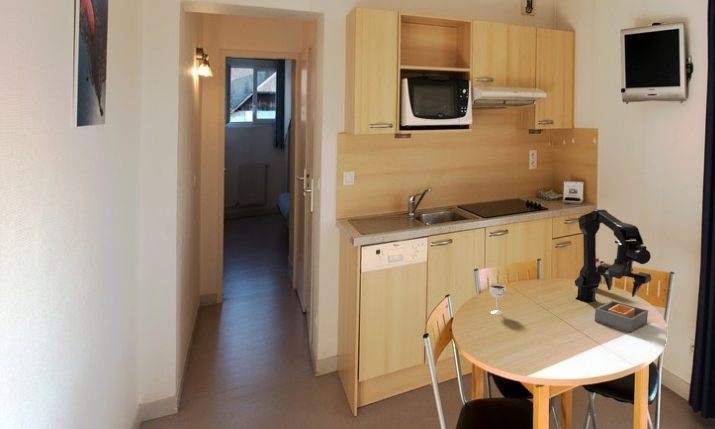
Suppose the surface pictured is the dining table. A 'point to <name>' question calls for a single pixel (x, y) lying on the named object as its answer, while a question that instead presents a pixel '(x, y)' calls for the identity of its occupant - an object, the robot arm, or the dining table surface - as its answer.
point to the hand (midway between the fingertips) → (621, 293)
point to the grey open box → (621, 317)
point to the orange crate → (623, 311)
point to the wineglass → (497, 295)
